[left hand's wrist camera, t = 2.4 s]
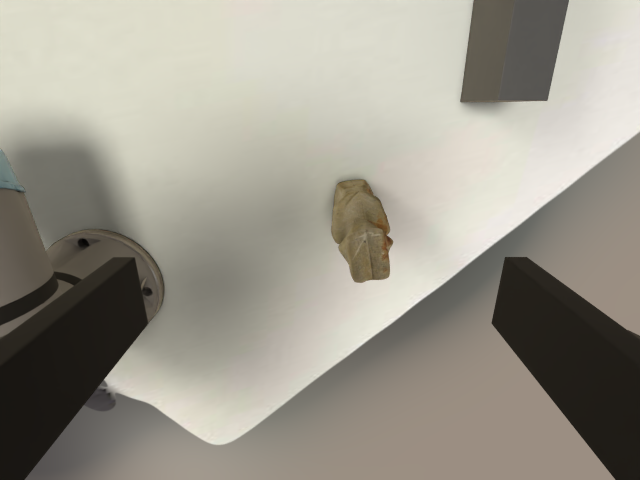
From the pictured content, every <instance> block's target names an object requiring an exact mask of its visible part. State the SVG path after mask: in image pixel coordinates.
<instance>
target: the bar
mask: <svg viewBox="0 0 640 480" xmlns="http://www.w3.org/2000/svg"><path fill="white" fill-rule="evenodd" d="M568 2H569V0H474V5H473V12H472V20H471V27H470V35H469V42H468V50H467V57H466V65H465V72H464V80H463V87H462V95H461V102H517V101H547V100H548V95H549V91H550V86H551V81H552V77H553V72H554V67H555V63H556V58H557V53H558V49H559V44H560V39H561V35H562V30H563V25H564V21H565V16H566V11H567V7H568Z"/></svg>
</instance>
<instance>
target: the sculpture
mask: <svg viewBox="0 0 640 480" xmlns="http://www.w3.org/2000/svg"><path fill="white" fill-rule="evenodd" d="M331 232H332V236H333V239H334V240H335V242H336V243H337V244H340V245H339V251H340V252H341V254H342V255H343V257H344V258H345V259H346V261H347V262H348V264H349V267H350V273H351V276H352V278H353V280H354V281H355V282H357V283H363V282H365V281H368V280H383V279H386V278H388V277H389V275H390V264H389V255H388V253H389V250H390V247H391V246H392V244H393V240H392V239H391V238H390V237H388V236H387V234H388V233H389V232H390V227H389V223H388V220H387V216H386V214H385V212H384V209H383V207H382V204H381V202H380V200H379V199H378V198H377V197H376V196H374V195H373V192H372V190H371V188H370V187H369V185H368V183H367V182H366V181H365V180H350V181H344V182H341V183H338V185H337V186H336V191H335V196H334V208H333V215H332V228H331Z"/></svg>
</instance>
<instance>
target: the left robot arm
mask: <svg viewBox="0 0 640 480" xmlns="http://www.w3.org/2000/svg"><path fill="white" fill-rule="evenodd" d="M24 193H25V189H24V188H23V187H22V186H21V185H19V183H18V181H17V179H16V176H15V174H14V172H13V170H12V168H11V166H10V163H9V161H8V159H7V157H6V155H5V153H4V152H3V151H2V150H1V149H0V480H25V478H26V477H27V476H28V475H29V473H30V472H31V471H32V470H33V468H34V467H35V466H36V464H37V463H38V462H39V461H40V459H41V458H42V457H43V456H44V454H45V453H46V452H47V451H48V449H49V448H50V447H51V446H52V444H53V443H54V442H55V440H56V439H57V438H58V437H59V435H60V434H61V433H62V432H63V430H64V429H65V428H66V427H67V425H68V424H69V423H70V422H71V420H72V419H73V418H74V416H75V415H76V414H77V413H78V411H79V410H80V409H81V408H82V406H83V405H84V404H85V403H86V401H87V400H88V399H89V398H90V396H91V395H92V394H93V393H94V391H95V390H96V389H97V388H98V386H99V385H100V384H101V382H102V381H103V380H104V379H105V377H106V376H107V375H108V374H109V372H110V371H111V370H112V369H113V367H114V366H115V365H116V364H117V362H118V361H119V360H120V359H121V357H122V356H123V355H124V353H125V352H126V351H127V350H128V348H129V347H130V346H131V345H132V343H133V342H134V341H135V340H136V338H137V337H138V336H139V335H140V333H141V332H142V331H143V329H144V328H145V327H146V326H147V324H148V323H149V322H150V320H151V319H152V318H153V317H154V315H155V314H156V313H157V311H158V310H159V308H160V306H161V303H162V300H163V293H164V287H163V281H162V277H161V274H160V271H159V269H158V267H157V265H156V264H155V262H154V261H153V259H152V258H151V257H150V256H149V254H148V253H147V252H146V251H145V250H144V249H143V248H141V247H140V246H139V245H138V244H136V243H135V242H133V241H132V240H130V239H128V238H126V237H124V236H122V235H120V234H117V233H114V232H111V231H106V230H98V229H89V230H82V231H78V232H75V233H72V234H70V235H68V236H66V237H64V238H62V239H60V240H58V241H57V242H55V243H54V244H53V245H52V246H50V248H49V249H48V250H47V251H46V250H45V248H44V245H43V243H42V240H41V237H40V235H39V232H38V229H37V227H36V224H35V222H34V219H33V216H32V214H31V211H30V208H29V206H28V203H27V201H26V198H25V195H24ZM492 324H493V326H494V327H495V328H496V329H497V331H498V332H499V333H500V334H501V336H502V337H503V338H504V340H505V341H506V342H507V343H508V345H509V346H510V347H511V348H512V350H513V351H514V352H515V353H516V355H517V356H518V357H519V358H520V360H521V361H522V362H523V364H524V365H525V366H526V367H527V368H528V370H529V371H530V372H531V374H532V375H533V376H534V377H535V379H536V380H537V381H538V382H539V384H540V385H541V386H542V388H543V389H544V390H545V391H546V393H547V394H548V395H549V396H550V398H551V399H552V400H553V401H554V403H555V404H556V405H557V406H558V408H559V409H560V410H561V411H562V413H563V414H564V415H565V416H566V418H567V419H568V420H569V422H570V423H571V424H572V425H573V426H574V428H575V429H576V430H577V432H578V433H579V434H580V435H581V437H582V438H583V439H584V440H585V442H586V443H587V444H588V446H589V447H590V448H591V449H592V451H593V452H594V453H595V454H596V456H597V457H598V458H599V459H600V461H601V462H602V463H603V464H604V466H605V467H606V468H607V469H608V471H609V472H610V473H611V475H612V476H613V477H614V478H615V480H640V336H639V335H637V334H635V333H633V332H631V331H629V330H626V329H625V328H623V327H622V326H621V325H619V324H618V323H617V322H615V321H614V320H612V319H611V318H610V317H608V316H607V315H606V314H604V313H603V312H601V311H600V310H599V309H597V308H596V307H595V306H593V305H592V304H590V303H589V302H588V301H586V300H585V299H584V298H582V297H581V296H579V295H578V294H577V293H575V292H574V291H573V290H571V289H570V288H568V287H567V286H566V285H564V284H563V283H561V282H560V281H559V280H557V279H556V278H555V277H553V276H552V275H551V274H549V273H548V272H546V271H545V270H544V269H542V268H541V267H539V266H538V265H537V264H535V263H534V262H533V261H531V260H530V259H529V258H527V257H505V260H504V265H503V270H502V275H501V280H500V285H499V290H498V295H497V299H496V304H495V309H494V314H493V319H492Z"/></svg>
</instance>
